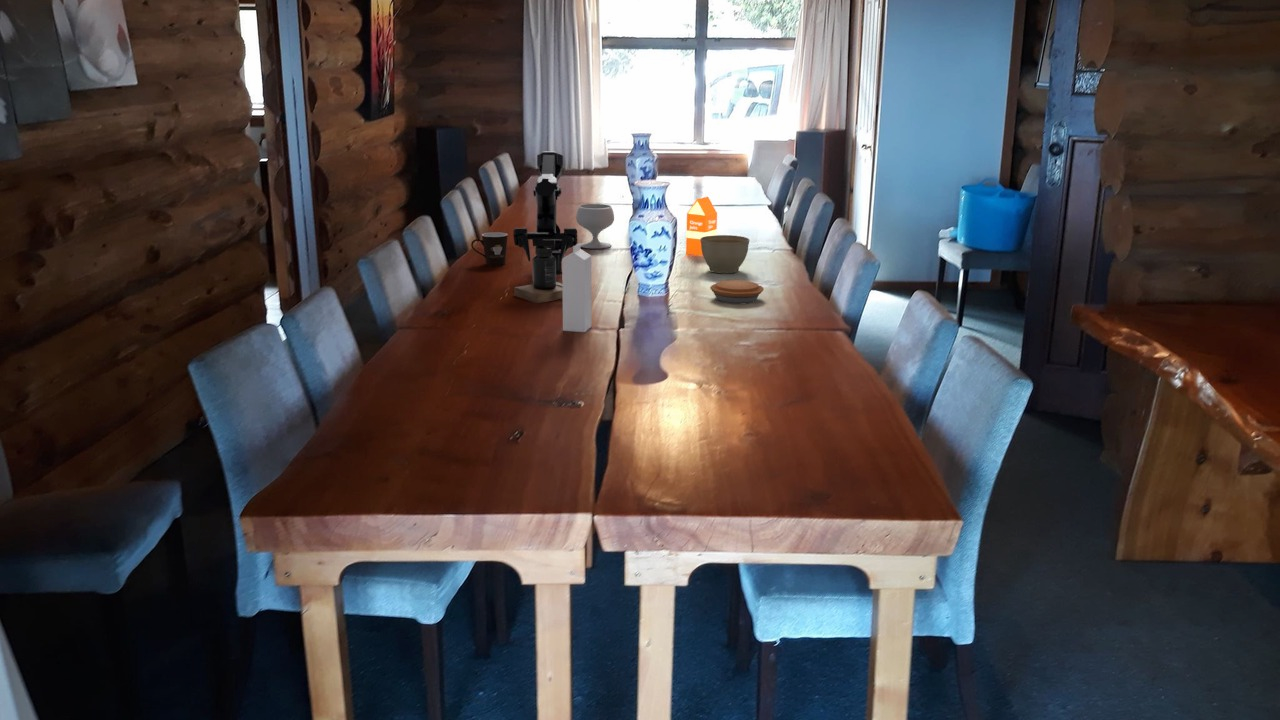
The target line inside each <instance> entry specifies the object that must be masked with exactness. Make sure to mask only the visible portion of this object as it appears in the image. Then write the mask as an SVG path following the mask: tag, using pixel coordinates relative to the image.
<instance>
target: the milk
mask: <svg viewBox="0 0 1280 720" xmlns="http://www.w3.org/2000/svg"><path fill="white" fill-rule="evenodd" d="M580 244H581V243H580V242H579V243H577V245H575V246H573V247H572V253H569V254H568V255H566V256H564V257H563V259H562V262H561V271H562V273H561V274H562V275H561V276H562V277H561V278H562V288H563V299H562V331H564V332H576V333H586V332H587V331H588V330H589V329H591V327H592V255H591V254H589V253H587V251H585V250H583V249H581V247H580Z"/></svg>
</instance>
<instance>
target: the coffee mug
mask: <svg viewBox="0 0 1280 720" xmlns="http://www.w3.org/2000/svg"><path fill="white" fill-rule="evenodd" d="M481 237H482V238H481V239H482V240H481V239H480V238H476V239H475V238H474V239H473V240H472V241H471V244H470V245H471V248H472V250H473V251H474V252H476V253H477V254H478V255H481V256H482V257H484V260H485V265H486V264H487V266H489V265H492V266H491V267H500V266H504V265H506V260H507V259H506V257H507V249H508V248H507V247H508V246H507V245H508V237H509V235H508V233H505V232H484V233H482V234H481ZM477 241H478V242H480V243H481V245H482V247H483V251H484V253H481V252H480V251H478V250H477V249H476V248H474V243H475V242H477Z"/></svg>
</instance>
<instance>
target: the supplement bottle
mask: <svg viewBox="0 0 1280 720" xmlns="http://www.w3.org/2000/svg"><path fill="white" fill-rule="evenodd" d="M534 250H535V253H534V254H535V256H534V257H533V258H532V261H531V262H532V284H533V287H534V288H535V289H539V290H548V289H554V288H555V287H556V282H557V274H556V259H555V257H554V256H552V255H551V254H552V247H550V246H538V247H536V246H535V249H534Z"/></svg>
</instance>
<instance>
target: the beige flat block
mask: <svg viewBox="0 0 1280 720" xmlns="http://www.w3.org/2000/svg"><path fill="white" fill-rule="evenodd" d="M513 296H514V297H517V298H520V299H523V300H527V301H529V302H532V303H535V304H541V303H546V302H547V303H548V302H551V301H553V302H554V301H559V300H558V299H560V300H563V288H562V283H561V282H559V281H556V287H555V288H554V289H548V290H539V289H535V288H534V287H533V283H532V284H527V285H519V286H514V287H513Z"/></svg>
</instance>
